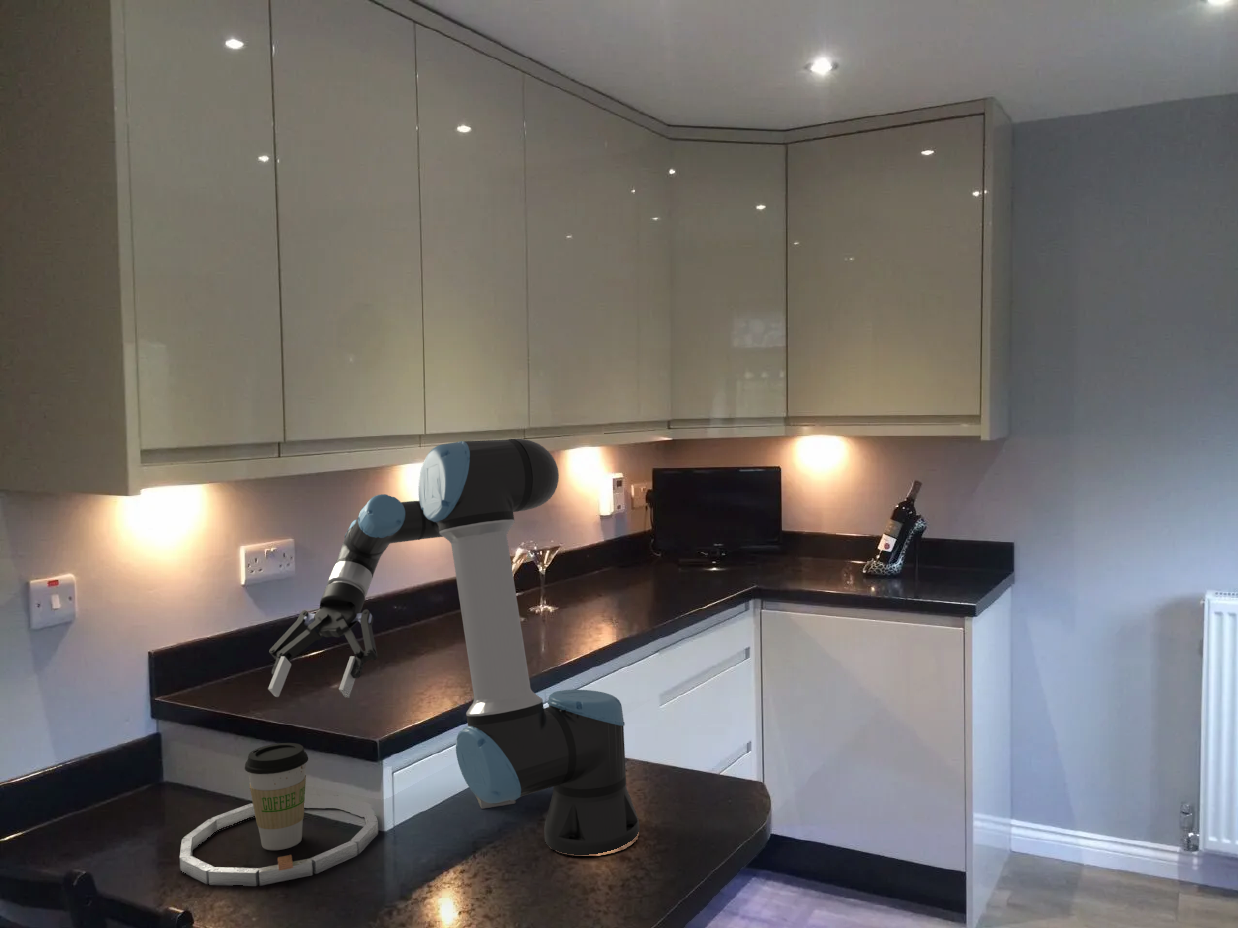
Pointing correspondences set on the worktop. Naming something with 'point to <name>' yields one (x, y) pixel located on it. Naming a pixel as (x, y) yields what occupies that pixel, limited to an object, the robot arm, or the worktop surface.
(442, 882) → the worktop surface
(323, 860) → the centring ring
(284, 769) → the coffee cup
